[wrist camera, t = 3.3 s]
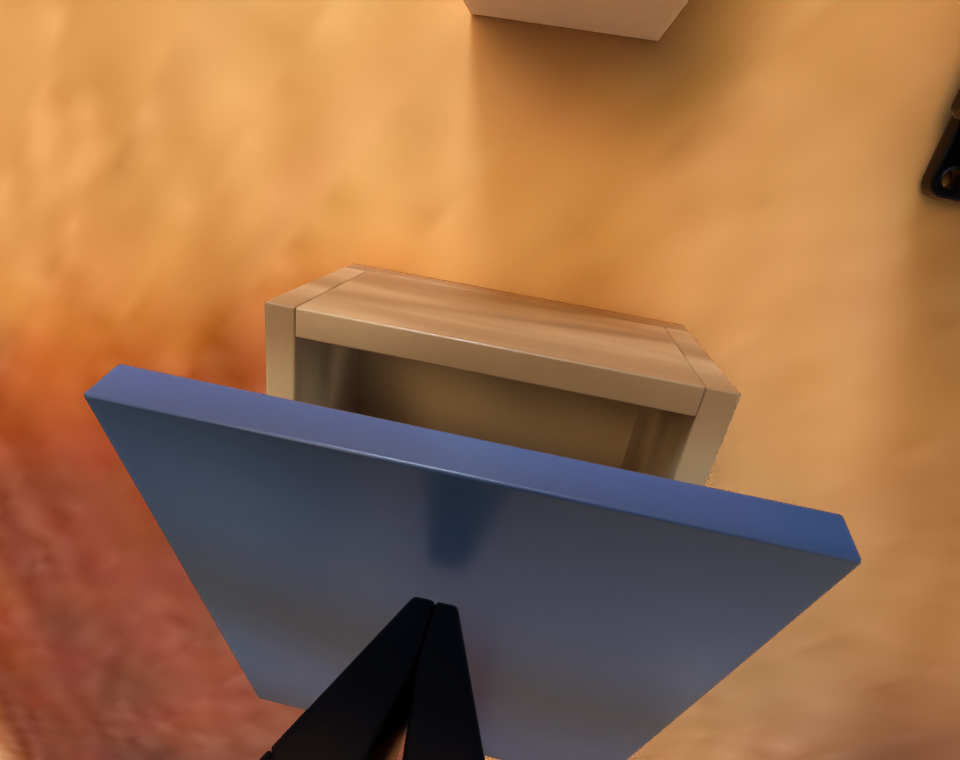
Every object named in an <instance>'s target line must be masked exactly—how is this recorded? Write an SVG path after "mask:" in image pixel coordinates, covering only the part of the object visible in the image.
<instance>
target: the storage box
mask: <svg viewBox="0 0 960 760" xmlns="http://www.w3.org/2000/svg"><path fill="white" fill-rule="evenodd" d="M265 340H266V395H271V396H275V397H280V398H285V399H290V400H294V401H299V402H304V403H309V404H314V405H318V406H323V407H328V408H333V409H337V410H342V411H347V412H352V413H357V414H361V415H366V416H371V417H376V418H381V419H385V420H390V421H395V422H400V423H404V424H409V425H414V426H419V427H424V428H428V429H433V430H438V431H443V432H447V433H452V434H457V435H462V436H467V437H471V438H476V439H481V440H486V441H490V442H495V443H500V444H505V445H510V446H514V447H519V448H524V449H529V450H534V451H538V452H543V453H548V454H553V455H557V456H562V457H567V458H572V459H577V460H581V461H586V462H591V463H596V464H600V465H605V466H610V467H615V468H620V469H624V470H629V471H634V472H639V473H644V474H648V475H653V476H658V477H663V478H667V479H672V480H677V481H682V482H687V483H691V484H696V485H701V486H705V483H706V481H707V478H708V476H709V473H710V471H711V468H712V466H713V463H714V461H715V458H716V456H717V453H718V451H719V448H720V446H721V443H722V441H723V438H724V436H725V433H726V431H727V428H728V426H729V423H730V421H731V419H732V416H733V414H734V411H735V409H736V406H737V404H738V401H739V399H740V396H741V394H740V393H739V391H738V390H737V389H736V388H735V386H734V385H733V384H732V383H731V382H730V380H729V379H728V378H727V377H726V376H725V374H724V373H723V372H722V371H721V370H720V368H719V367H718V366H717V365H716V364H715V362H714V361H713V360H712V359H711V357H710V356H709V355H708V354H707V353H706V351H705V350H704V349H703V348H702V347H701V345H700V344H699V343H698V342H697V341H696V339H695V338H694V337H693V336H692V335H691V333H690V332H688V331H687V329H686V328H685V327H684V326H683V325H680V324H674V323H669V322H664V321H658V320H653V319H648V318H642V317H637V316H632V315H626V314H621V313H615V312H610V311H605V310H599V309H594V308H589V307H583V306H578V305H573V304H567V303H562V302H557V301H551V300H546V299H541V298H535V297H530V296H524V295H519V294H514V293H508V292H503V291H498V290H492V289H487V288H482V287H476V286H471V285H466V284H460V283H455V282H449V281H444V280H439V279H433V278H428V277H423V276H417V275H412V274H407V273H401V272H396V271H391V270H385V269H380V268H375V267H369V266H364V265H358V264H351V265H349V266H346V267H343V268H341V269H339V270H336V271H334V272H332V273H329V274H327V275H325V276H322V277H320V278H318V279H316V280H313V281H311V282H309V283H306V284H304V285H302V286H300V287H297V288H295V289H293V290H290V291H288V292H286V293H283V294H281V295H279V296H277V297H274V298H272V299H270V300H267V301H266V302H265Z"/></svg>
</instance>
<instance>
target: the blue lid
mask: <svg viewBox="0 0 960 760" xmlns="http://www.w3.org/2000/svg"><path fill="white" fill-rule="evenodd" d="M84 397H85V399H86V400H87V402H88V404H89V406H90V407H91V409H92V411H93V412H94V414H95V416H96V418H97V419H98V421H99V423H100V425H101V426H102V428H103V430H104V431H105V433H106V435H107V437H108V438H109V440H110V442H111V444H112V445H113V447H114V449H115V450H116V452H117V454H118V456H119V457H120V459H121V461H122V462H123V464H124V466H125V468H126V469H127V471H128V473H129V475H130V476H131V478H132V480H133V481H134V483H135V485H136V487H137V488H138V490H139V492H140V494H141V495H142V497H143V499H144V500H145V502H146V504H147V506H148V507H149V509H150V511H151V513H152V514H153V516H154V518H155V519H156V521H157V523H158V525H159V526H160V528H161V530H162V532H163V533H164V535H165V537H166V538H167V540H168V542H169V544H170V545H171V547H172V549H173V551H174V552H175V554H176V556H177V557H178V559H179V561H180V563H181V564H182V566H183V568H184V570H185V571H186V573H187V575H188V576H189V578H190V580H191V582H192V583H193V585H194V587H195V588H196V590H197V592H198V594H199V595H200V597H201V599H202V601H203V602H204V604H205V606H206V607H207V609H208V611H209V613H210V614H211V616H212V618H213V620H214V621H215V623H216V625H217V626H218V628H219V630H220V632H221V633H222V635H223V637H224V639H225V640H226V642H227V644H228V645H229V647H230V649H231V651H232V652H233V654H234V656H235V658H236V659H237V661H238V663H239V664H240V666H241V668H242V670H243V671H244V673H245V675H246V677H247V678H248V680H249V682H250V683H251V685H252V687H253V689H254V690H255V692H256V694H257V695H258V697H259V698H261V699H265V700H269V701H273V702H277V703H281V704H285V705H289V706H293V707H297V708H301V709H304V710H307V709H308V708H309V707H310V706H311V705H312V704H313V703H314V701H315V700H316V699H317V698H318V697H319V696H320V695H321V694H322V693H323V692H324V691H325V690H326V689H327V688H328V687H329V686H330V684H331V683H332V682H333V681H334V680H335V679H336V678H337V677H338V676H339V675H340V674H341V673H342V672H343V671H344V670H345V669H346V667H347V666H348V665H349V664H350V663H351V662H352V661H353V660H354V659H355V658H356V657H357V656H358V655H359V654H360V653H361V652H362V650H363V649H364V648H365V647H366V646H367V645H368V644H369V643H370V642H371V641H372V640H373V639H374V638H375V637H376V636H377V635H378V633H379V632H380V631H381V630H382V629H383V628H384V627H385V626H386V625H387V624H388V623H389V622H390V621H391V620H392V619H393V618H394V616H395V615H396V614H397V613H398V612H399V611H400V610H401V609H402V608H403V607H404V606H405V605H406V604H407V603H408V602H409V601H410V600H411V599H412V598H413V597H421V598H425V599H429V600H432V601H434V603H435V604H436V603H437V602H442V603H446V604H450V605H454V606H456V607H457V608H458V611H459V616H460V622H461V627H462V633H463V639H464V644H465V650H466V656H467V661H468V667H469V673H470V678H471V684H472V690H473V695H474V701H475V707H476V712H477V718H478V724H479V729H480V735H481V741H482V746H483V752H484V755H485V756H488V757H492V758H496V759H500V760H627V759H628V758H629V757H631V756H632V755H633V754H634V753H635V752H637V751H638V750H639V749H640V748H641V747H643V746H644V745H645V744H646V743H647V742H648V741H650V740H651V739H652V738H653V737H654V736H656V735H657V734H658V733H659V732H660V731H662V730H663V729H664V728H665V727H666V726H668V725H669V724H670V723H671V722H672V721H674V720H675V719H676V718H677V717H678V716H679V715H681V714H682V713H683V712H684V711H685V710H687V709H688V708H689V707H690V706H691V705H693V704H694V703H695V702H696V701H697V700H699V699H700V698H701V697H702V696H703V695H704V694H706V693H707V692H708V691H709V690H710V689H712V688H713V687H714V686H715V685H716V684H718V683H719V682H720V681H721V680H722V679H724V678H725V677H726V676H727V675H728V674H729V673H731V672H732V671H733V670H734V669H735V668H737V667H738V666H739V665H740V664H741V663H743V662H744V661H745V660H746V659H747V658H749V657H750V656H751V655H752V654H753V653H755V652H756V651H757V650H758V649H759V648H760V647H762V646H763V645H764V644H765V643H766V642H768V641H769V640H770V639H771V638H772V637H774V636H775V635H776V634H777V633H778V632H780V631H781V630H782V629H783V628H784V627H785V626H787V625H788V624H789V623H790V622H791V621H793V620H794V619H795V618H796V617H797V616H799V615H800V614H801V613H802V612H803V611H805V610H806V609H807V608H808V607H809V606H811V605H812V604H813V603H814V602H815V601H816V600H818V599H819V598H820V597H821V596H822V595H824V594H825V593H826V592H827V591H828V590H830V589H831V588H832V587H833V586H834V585H836V584H837V583H838V582H839V581H840V580H841V579H843V578H844V577H845V576H846V575H847V574H849V573H850V572H851V571H852V570H853V569H855V568H856V567H857V566H858V565H859V564H860V563H861V558H860V555H859V553H858V551H857V548H856V546H855V544H854V541H853V539H852V537H851V534H850V532H849V530H848V527H847V525H846V522H845V520H844V518H843V517H842V516H841V515H839V514H835V513H830V512H825V511H820V510H816V509H811V508H806V507H801V506H797V505H792V504H787V503H782V502H777V501H773V500H768V499H763V498H758V497H754V496H749V495H744V494H739V493H734V492H730V491H725V490H720V489H715V488H710V487H706V486H701V485H696V484H691V483H687V482H682V481H677V480H672V479H667V478H663V477H658V476H653V475H648V474H644V473H639V472H634V471H629V470H624V469H620V468H615V467H610V466H605V465H600V464H596V463H591V462H586V461H581V460H577V459H572V458H567V457H562V456H557V455H553V454H548V453H543V452H538V451H534V450H529V449H524V448H519V447H514V446H510V445H505V444H500V443H495V442H490V441H486V440H481V439H476V438H471V437H467V436H462V435H457V434H452V433H447V432H443V431H438V430H433V429H428V428H424V427H419V426H414V425H409V424H404V423H400V422H395V421H390V420H385V419H381V418H376V417H371V416H366V415H361V414H357V413H352V412H347V411H342V410H337V409H333V408H328V407H323V406H318V405H314V404H309V403H304V402H299V401H294V400H290V399H285V398H280V397H275V396H271V395H266V394H261V393H256V392H251V391H247V390H242V389H237V388H232V387H227V386H223V385H218V384H213V383H208V382H204V381H199V380H194V379H189V378H184V377H180V376H175V375H170V374H165V373H161V372H156V371H151V370H146V369H141V368H137V367H132V366H127V365H122V364H120V365H117V366H116V367H115V368H114V369H112V370H111V371H110V372H109V373H108V374H106V375H105V376H104V377H103V378H102V379H101V380H99V381H98V382H97V383H96V384H95V385H94V386H92V387H91V388H90V389H89V390H88V391H86V392H85V394H84ZM406 732H407V730H406ZM405 735H406V733H405Z"/></svg>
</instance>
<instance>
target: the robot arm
mask: <svg viewBox="0 0 960 760" xmlns="http://www.w3.org/2000/svg"><path fill="white" fill-rule="evenodd" d="M952 113H953V115H952V117H951V119H950V121H949V123H948V125H947V127H946V129H945V132H944V134H943V136H942V138H941V140H940V142H939V144H938V146H937V149H936V151H935V153H934V155H933V157H932V159H931V161H930V163H929V166H928V168H927V170H926V172H925V174H924V176H923V180H922V189H923V191H924V192H925V194H926V195H928V196H930V197H933V198H938V199H944V200H950V201H956V202H960V89H959V91H958V93H957V96H956V98H955V100H954V102H953V104H952ZM948 171H951V172H952V174H953V177H952V181H951V182H950V183H949V185H948V186H946V187H943V186H942V183H941V182H942V177H943V176H944V175H945V174H946V173H947V172H948ZM406 730H407V732H406ZM405 733H406V738H405V745H404V752H403V759H402V760H485V758H484V752H483V746H482V741H481V735H480V729H479V724H478V718H477V712H476V707H475V701H474V695H473V690H472V684H471V678H470V673H469V667H468V661H467V656H466V650H465V644H464V639H463V633H462V627H461V622H460V616H459V611H458V608H457V607H456V606H454V605H450V604H446V603H442V602H437V603H436V604H435V603H434V601H432V600H429V599H425V598H421V597H413V598H412V599H411V600H410V601H409V602H408V603H407V604H406V605H405V606H404V607H403V608H402V609H401V610H400V611H399V612H398V613H397V614H396V615H395V616H394V618H393V619H392V620H391V621H390V622H389V623H388V624H387V625H386V626H385V627H384V628H383V629H382V630H381V631H380V632H379V633H378V635H377V636H376V637H375V638H374V639H373V640H372V641H371V642H370V643H369V644H368V645H367V646H366V647H365V648H364V649H363V650H362V652H361V653H360V654H359V655H358V656H357V657H356V658H355V659H354V660H353V661H352V662H351V663H350V664H349V665H348V666H347V667H346V669H345V670H344V671H343V672H342V673H341V674H340V675H339V676H338V677H337V678H336V679H335V680H334V681H333V682H332V683H331V684H330V686H329V687H328V688H327V689H326V690H325V691H324V692H323V693H322V694H321V695H320V696H319V697H318V698H317V699H316V700H315V701H314V703H313V704H312V705H311V706H310V707H309V708H308V709H307V710H306V711H305V712H304V713H303V714H302V715H301V716H300V717H299V718H298V720H297V721H296V722H295V723H294V724H293V725H292V726H291V727H290V728H289V729H288V730H287V731H286V732H285V733H284V734H283V735H282V737H281V738H280V739H279V740H278V741H277V742H276V743H275V744H274V745H273V746H272V752H271V751H267V752H266V753H265V754H264V755H263V756H262V757H261V758H260V760H396V759H397V756H398V754H399V751H400V748H401V745H402V742H403V739H404V736H405Z"/></svg>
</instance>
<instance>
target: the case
mask: <svg viewBox="0 0 960 760" xmlns="http://www.w3.org/2000/svg"><path fill="white" fill-rule="evenodd" d="M688 1H689V0H464V2H465V4H466V6H467V8H468V9H469V11H470V13H471V14H476V15H483V16H490V17H497V18H503V19H510V20H517V21H524V22H531V23H537V24H544V25H551V26H558V27H565V28H572V29H578V30H585V31H592V32H599V33H606V34H612V35H619V36H626V37H633V38H640V39H647V40H653V41H658V40H659V39H660V38H661V37H662V35H663V34H664V33H665V31H666V30H667V29H668V27H669V26H670V25H671V23H672V22H673V21H674V19H675V18H676V17H677V15H678V14H679V13H680V11H681V10H682V9H683V7H684V6H685V5H686V3H687V2H688Z"/></svg>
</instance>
